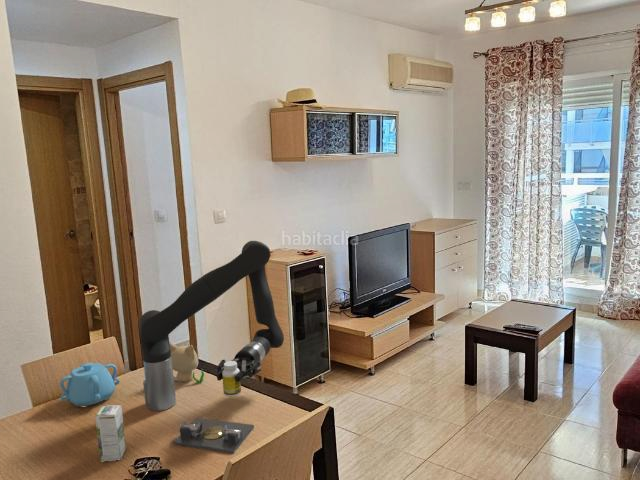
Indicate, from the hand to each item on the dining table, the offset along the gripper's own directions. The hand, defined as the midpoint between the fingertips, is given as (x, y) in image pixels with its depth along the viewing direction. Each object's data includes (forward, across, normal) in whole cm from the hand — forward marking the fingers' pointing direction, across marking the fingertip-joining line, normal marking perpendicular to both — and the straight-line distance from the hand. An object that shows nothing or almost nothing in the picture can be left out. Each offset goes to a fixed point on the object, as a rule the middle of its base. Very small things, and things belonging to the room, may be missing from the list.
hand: (227, 378), depth 155 cm
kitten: (-30, -34, +18) cm, 49 cm away
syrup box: (+19, -28, +18) cm, 39 cm away
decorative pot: (-9, -60, +18) cm, 63 cm away
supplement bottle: (-3, 0, +6) cm, 7 cm away
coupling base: (+3, -4, +18) cm, 18 cm away
